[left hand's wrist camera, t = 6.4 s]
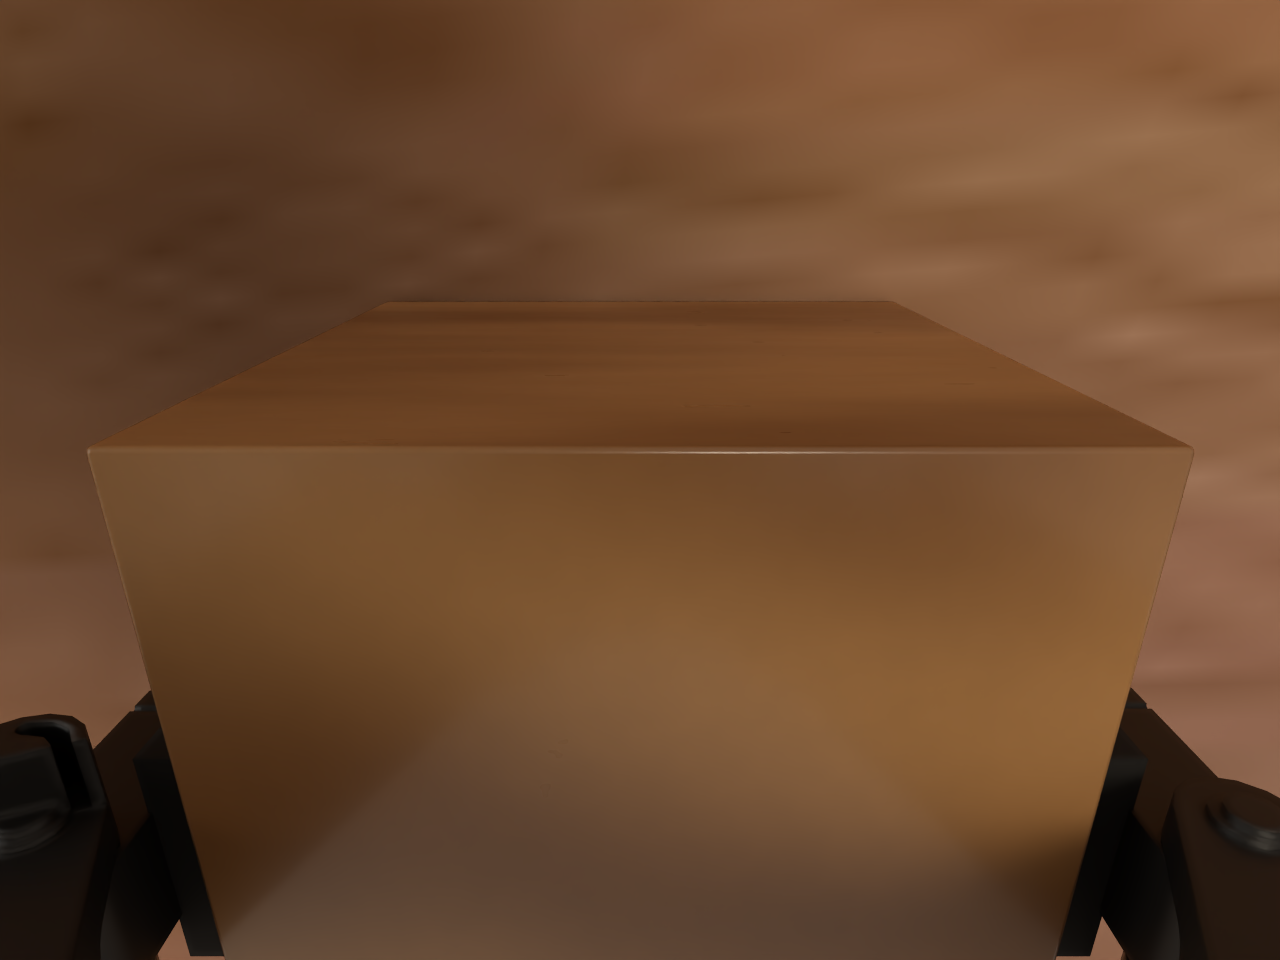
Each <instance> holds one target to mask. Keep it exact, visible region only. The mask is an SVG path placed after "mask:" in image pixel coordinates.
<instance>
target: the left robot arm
mask: <svg viewBox="0 0 1280 960" xmlns="http://www.w3.org/2000/svg"><path fill="white" fill-rule="evenodd" d="M1102 917H1103V918H1104V920H1105V922H1106V923H1107V925H1108V926H1109V928H1110V930H1111V931H1112V933H1113V934H1114V936H1115V938H1116V939H1117V941H1118V942H1119V944H1120V946H1121V947H1122V949H1123V950H1124V951H1123V954H1122V957H1121V960H1280V798H1279V797H1277V796H1275V795H1273V794H1271V793H1269V792H1267V791H1265V790H1262V789H1259V788H1256V787H1253V786H1251V785H1248V784H1245V783H1242V782H1239V781H1236V780H1229V779H1222V778H1218V777H1217V776H1216V775H1215V774H1214V773H1213V772H1212V771H1211V770H1210V769H1209V768H1208V767H1207V766H1206V765H1205V764H1204V763H1203V762H1202V761H1201V760H1200V758H1199V757H1198V756H1197V755H1196V754H1195V753H1194V752H1193V751H1192V750H1191V749H1190V748H1189V747H1188V746H1187V745H1186V744H1185V743H1184V742H1183V741H1182V740H1181V739H1180V738H1179V737H1178V736H1177V735H1176V734H1175V733H1174V732H1173V730H1172V729H1171V728H1170V727H1169V726H1168V725H1167V724H1166V723H1165V722H1164V721H1163V720H1162V719H1161V718H1160V717H1159V716H1158V715H1157V714H1156V713H1155V712H1154V711H1153V710H1152V709H1147V706H1146V703H1145V701H1144V700H1143V699H1142V698H1141V697H1140V696H1139V695H1138V694H1137V693H1136V692H1135V691H1134V690H1133V689H1132V688H1130V690H1129V693H1128V697H1127V701H1126V704H1125V708H1124V712H1123V715H1122V719H1121V723H1120V726H1119V730H1118V733H1117V737H1116V741H1115V744H1114V748H1113V752H1112V755H1111V759H1110V763H1109V766H1108V770H1107V774H1106V777H1105V781H1104V785H1103V788H1102V792H1101V795H1100V799H1099V803H1098V806H1097V810H1096V814H1095V817H1094V821H1093V825H1092V828H1091V832H1090V836H1089V839H1088V843H1087V847H1086V850H1085V854H1084V857H1083V861H1082V865H1081V868H1080V872H1079V876H1078V879H1077V883H1076V887H1075V890H1074V894H1073V898H1072V901H1071V905H1070V909H1069V912H1068V916H1067V919H1066V923H1065V927H1064V930H1063V934H1062V938H1061V941H1060V945H1059V949H1058V952H1057V956H1090V955H1091V951H1092V948H1093V945H1094V941H1095V938H1096V934H1097V931H1098V928H1099V924H1100V921H1101V918H1102ZM179 919H180V922H181V926H182V929H183V933H184V936H185V939H186V943H187V946H188V949H189V953H190V956H224V954H223V950H222V946H221V943H220V939H219V935H218V932H217V928H216V924H215V921H214V917H213V913H212V910H211V906H210V902H209V899H208V895H207V892H206V888H205V884H204V881H203V877H202V873H201V870H200V866H199V862H198V859H197V855H196V851H195V848H194V844H193V840H192V837H191V833H190V829H189V826H188V822H187V818H186V815H185V811H184V808H183V804H182V800H181V797H180V793H179V789H178V786H177V782H176V778H175V775H174V771H173V767H172V764H171V760H170V756H169V753H168V749H167V745H166V742H165V738H164V734H163V731H162V727H161V724H160V720H159V716H158V713H157V709H156V705H155V702H154V698H153V694H152V691H149V692H148V693H147V694H146V695H145V696H144V697H143V698H142V699H141V700H140V701H139V702H138V703H137V705H136V706H135V710H134V711H130V712H129V713H128V714H127V715H126V716H125V717H124V718H123V719H122V720H121V721H120V722H119V723H118V724H117V725H116V726H115V727H114V729H113V730H112V731H111V732H110V733H109V734H108V735H107V736H106V737H105V738H104V739H103V740H102V741H101V742H100V743H99V744H98V745H97V746H96V747H95V748H94V749H92V745H91V742H90V739H89V736H88V733H87V730H86V726H85V724H83V723H82V722H80V721H79V720H77V719H76V718H74V717H73V716H66V715H57V714H44V715H37V716H29V717H22V718H18V719H15V720H12V721H9V722H5V723H2V724H0V960H159V957H158V952H159V951H160V949H161V947H162V946H163V944H164V943H165V941H166V939H167V938H168V936H169V935H170V933H171V931H172V930H173V928H174V927H175V925H176V923H177V922H178V920H179Z"/></svg>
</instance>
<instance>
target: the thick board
mask: <svg viewBox="0 0 1280 960" xmlns="http://www.w3.org/2000/svg"><path fill="white" fill-rule="evenodd" d="M1193 456H1194V449H1193V448H1192V447H1191V446H1189V445H1187V444H1185V443H1183V442H1181V441H1179V440H1177V439H1175V438H1173V437H1170V436H1168V435H1166V434H1164V433H1162V432H1160V431H1158V430H1156V429H1154V428H1152V427H1150V426H1148V425H1146V424H1144V423H1142V422H1140V421H1138V420H1135V419H1133V418H1131V417H1129V416H1127V415H1125V414H1123V413H1121V412H1119V411H1117V410H1115V409H1113V408H1111V407H1109V406H1107V405H1105V404H1103V403H1100V402H1098V401H1096V400H1094V399H1092V398H1090V397H1088V396H1086V395H1084V394H1082V393H1080V392H1078V391H1076V390H1074V389H1072V388H1070V387H1068V386H1065V385H1063V384H1061V383H1059V382H1057V381H1055V380H1053V379H1051V378H1049V377H1047V376H1045V375H1043V374H1041V373H1039V372H1037V371H1035V370H1033V369H1030V368H1028V367H1026V366H1024V365H1022V364H1020V363H1018V362H1016V361H1014V360H1012V359H1010V358H1008V357H1006V356H1004V355H1002V354H1000V353H998V352H995V351H993V350H991V349H989V348H987V347H985V346H983V345H981V344H979V343H977V342H975V341H973V340H971V339H969V338H967V337H965V336H962V335H960V334H958V333H956V332H954V331H952V330H950V329H948V328H946V327H944V326H942V325H940V324H938V323H936V322H934V321H932V320H930V319H927V318H925V317H923V316H921V315H919V314H917V313H915V312H913V311H911V310H909V309H907V308H905V307H903V306H901V305H899V304H897V303H894V302H386V303H384V304H382V305H380V306H378V307H376V308H374V309H372V310H370V311H368V312H365V313H363V314H361V315H359V316H357V317H355V318H353V319H351V320H349V321H347V322H345V323H343V324H341V325H339V326H337V327H335V328H333V329H330V330H328V331H326V332H324V333H322V334H320V335H318V336H316V337H314V338H312V339H310V340H308V341H306V342H304V343H302V344H300V345H298V346H295V347H293V348H291V349H289V350H287V351H285V352H283V353H281V354H279V355H277V356H275V357H273V358H271V359H269V360H267V361H265V362H262V363H260V364H258V365H256V366H254V367H252V368H250V369H248V370H246V371H244V372H242V373H240V374H238V375H236V376H234V377H232V378H230V379H227V380H225V381H223V382H221V383H219V384H217V385H215V386H213V387H211V388H209V389H207V390H205V391H203V392H201V393H199V394H197V395H195V396H192V397H190V398H188V399H186V400H184V401H182V402H180V403H178V404H176V405H174V406H172V407H170V408H168V409H166V410H164V411H162V412H160V413H157V414H155V415H153V416H151V417H149V418H147V419H145V420H143V421H141V422H139V423H137V424H135V425H133V426H131V427H129V428H127V429H125V430H122V431H120V432H118V433H116V434H114V435H112V436H110V437H108V438H106V439H104V440H102V441H100V442H98V443H96V444H94V445H92V446H90V447H88V449H87V457H88V461H89V464H90V468H91V472H92V475H93V479H94V482H95V486H96V490H97V493H98V497H99V501H100V504H101V508H102V512H103V515H104V519H105V523H106V526H107V530H108V534H109V537H110V541H111V545H112V548H113V552H114V556H115V559H116V563H117V566H118V570H119V574H120V577H121V581H122V585H123V588H124V592H125V596H126V599H127V603H128V607H129V610H130V614H131V618H132V621H133V625H134V629H135V632H136V636H137V640H138V643H139V647H140V650H141V654H142V658H143V661H144V665H145V669H146V672H147V676H148V680H149V683H150V687H151V691H152V694H153V698H154V702H155V705H156V709H157V713H158V716H159V720H160V724H161V727H162V731H163V734H164V738H165V742H166V745H167V749H168V753H169V756H170V760H171V764H172V767H173V771H174V775H175V778H176V782H177V786H178V789H179V793H180V797H181V800H182V804H183V808H184V811H185V815H186V818H187V822H188V826H189V829H190V833H191V837H192V840H193V844H194V848H195V851H196V855H197V859H198V862H199V866H200V870H201V873H202V877H203V881H204V884H205V888H206V892H207V895H208V899H209V902H210V906H211V910H212V913H213V917H214V921H215V924H216V928H217V932H218V935H219V939H220V943H221V946H222V950H223V954H224V957H225V960H1056V956H1057V952H1058V949H1059V945H1060V941H1061V938H1062V934H1063V930H1064V927H1065V923H1066V919H1067V916H1068V912H1069V909H1070V905H1071V901H1072V898H1073V894H1074V890H1075V887H1076V883H1077V879H1078V876H1079V872H1080V868H1081V865H1082V861H1083V857H1084V854H1085V850H1086V847H1087V843H1088V839H1089V836H1090V832H1091V828H1092V825H1093V821H1094V817H1095V814H1096V810H1097V806H1098V803H1099V799H1100V795H1101V792H1102V788H1103V785H1104V781H1105V777H1106V774H1107V770H1108V766H1109V763H1110V759H1111V755H1112V752H1113V748H1114V744H1115V741H1116V737H1117V733H1118V730H1119V726H1120V723H1121V719H1122V715H1123V712H1124V708H1125V704H1126V701H1127V697H1128V693H1129V690H1130V686H1131V682H1132V679H1133V675H1134V671H1135V668H1136V664H1137V660H1138V657H1139V653H1140V650H1141V646H1142V642H1143V639H1144V635H1145V631H1146V628H1147V624H1148V620H1149V617H1150V613H1151V609H1152V606H1153V602H1154V598H1155V595H1156V591H1157V588H1158V584H1159V580H1160V577H1161V573H1162V569H1163V566H1164V562H1165V558H1166V555H1167V551H1168V547H1169V544H1170V540H1171V536H1172V533H1173V529H1174V526H1175V522H1176V518H1177V515H1178V511H1179V507H1180V504H1181V500H1182V496H1183V493H1184V489H1185V485H1186V482H1187V478H1188V474H1189V471H1190V467H1191V464H1192V460H1193Z"/></svg>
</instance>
